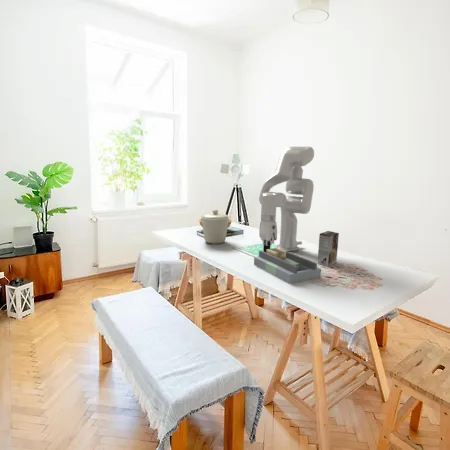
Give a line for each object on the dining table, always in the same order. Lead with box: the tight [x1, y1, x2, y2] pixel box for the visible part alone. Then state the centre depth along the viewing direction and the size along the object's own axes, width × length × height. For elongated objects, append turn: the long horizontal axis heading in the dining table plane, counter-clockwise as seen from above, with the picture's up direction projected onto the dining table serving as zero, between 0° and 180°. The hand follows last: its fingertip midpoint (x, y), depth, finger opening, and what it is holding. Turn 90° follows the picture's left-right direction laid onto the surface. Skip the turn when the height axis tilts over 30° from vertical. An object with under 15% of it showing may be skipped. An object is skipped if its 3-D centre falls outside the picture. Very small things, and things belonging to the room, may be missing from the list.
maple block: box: [266, 247, 286, 260], centre depth 161 cm, size 7×7×4 cm
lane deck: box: [253, 248, 322, 284], centre depth 155 cm, size 18×28×7 cm, turn 28°
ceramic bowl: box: [198, 218, 232, 229], centre depth 239 cm, size 30×24×8 cm
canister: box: [200, 209, 230, 245], centre depth 204 cm, size 18×18×21 cm
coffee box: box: [316, 230, 339, 267], centre depth 166 cm, size 9×6×16 cm
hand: (266, 252), depth 168 cm, fingers closed
